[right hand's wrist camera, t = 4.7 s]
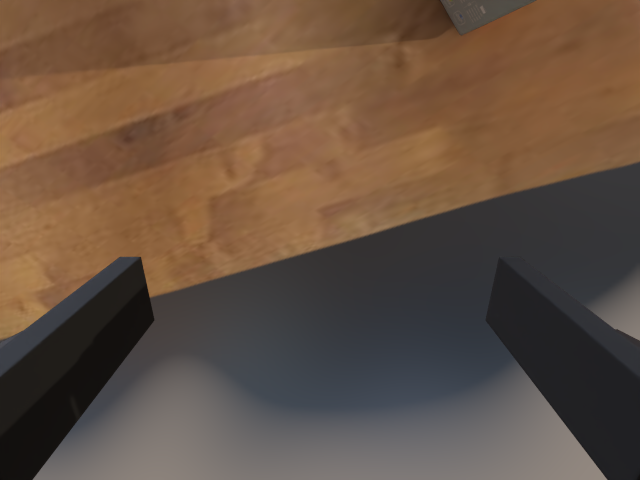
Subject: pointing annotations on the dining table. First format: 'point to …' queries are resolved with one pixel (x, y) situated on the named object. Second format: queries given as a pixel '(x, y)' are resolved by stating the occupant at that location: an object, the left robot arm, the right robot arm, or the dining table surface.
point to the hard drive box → (479, 11)
